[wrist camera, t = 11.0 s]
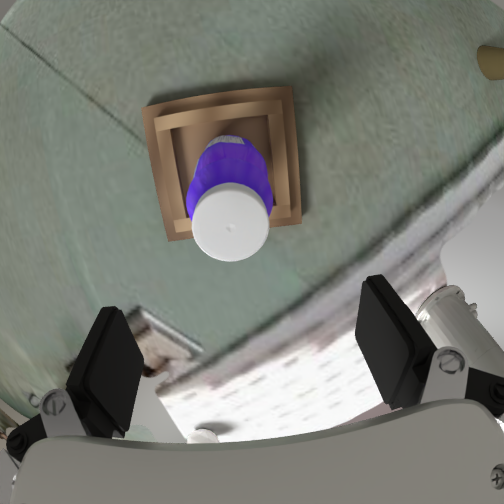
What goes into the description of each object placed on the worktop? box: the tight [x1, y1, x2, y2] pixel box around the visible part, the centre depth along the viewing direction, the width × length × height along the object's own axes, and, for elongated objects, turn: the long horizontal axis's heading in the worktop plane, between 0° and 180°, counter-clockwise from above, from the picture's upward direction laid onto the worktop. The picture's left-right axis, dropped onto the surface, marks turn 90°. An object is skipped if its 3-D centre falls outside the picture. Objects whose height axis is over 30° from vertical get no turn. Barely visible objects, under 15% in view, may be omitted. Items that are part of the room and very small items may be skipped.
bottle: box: [186, 135, 273, 261], centre depth 22 cm, size 7×6×17 cm
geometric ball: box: [187, 429, 220, 443], centre depth 55 cm, size 8×8×8 cm
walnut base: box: [141, 86, 302, 242], centre depth 30 cm, size 16×16×3 cm
